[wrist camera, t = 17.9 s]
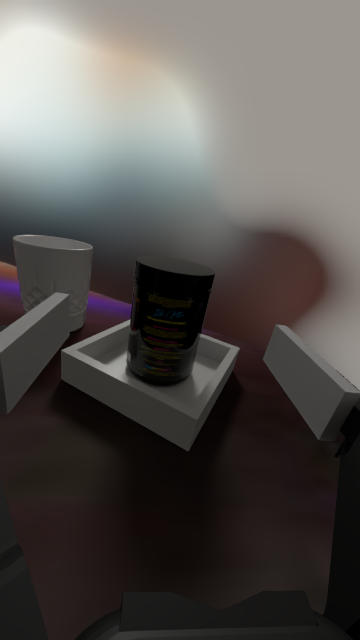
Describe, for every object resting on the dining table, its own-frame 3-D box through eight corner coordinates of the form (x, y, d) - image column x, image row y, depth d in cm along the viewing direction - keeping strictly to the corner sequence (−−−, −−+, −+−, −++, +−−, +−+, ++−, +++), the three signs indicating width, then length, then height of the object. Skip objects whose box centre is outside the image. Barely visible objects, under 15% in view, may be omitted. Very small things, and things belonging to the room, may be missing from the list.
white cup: (18, 312, 31) (11, 232, 28) (81, 308, 36) (83, 239, 32) (22, 340, 26) (14, 244, 22) (97, 332, 30) (101, 252, 26)
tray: (188, 451, 17) (197, 419, 16) (61, 379, 21) (61, 350, 20) (232, 370, 28) (239, 348, 27) (142, 333, 32) (145, 312, 31)
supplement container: (203, 386, 23) (230, 278, 19) (131, 394, 20) (145, 270, 16) (179, 349, 28) (196, 260, 24) (120, 351, 26) (129, 252, 22)
